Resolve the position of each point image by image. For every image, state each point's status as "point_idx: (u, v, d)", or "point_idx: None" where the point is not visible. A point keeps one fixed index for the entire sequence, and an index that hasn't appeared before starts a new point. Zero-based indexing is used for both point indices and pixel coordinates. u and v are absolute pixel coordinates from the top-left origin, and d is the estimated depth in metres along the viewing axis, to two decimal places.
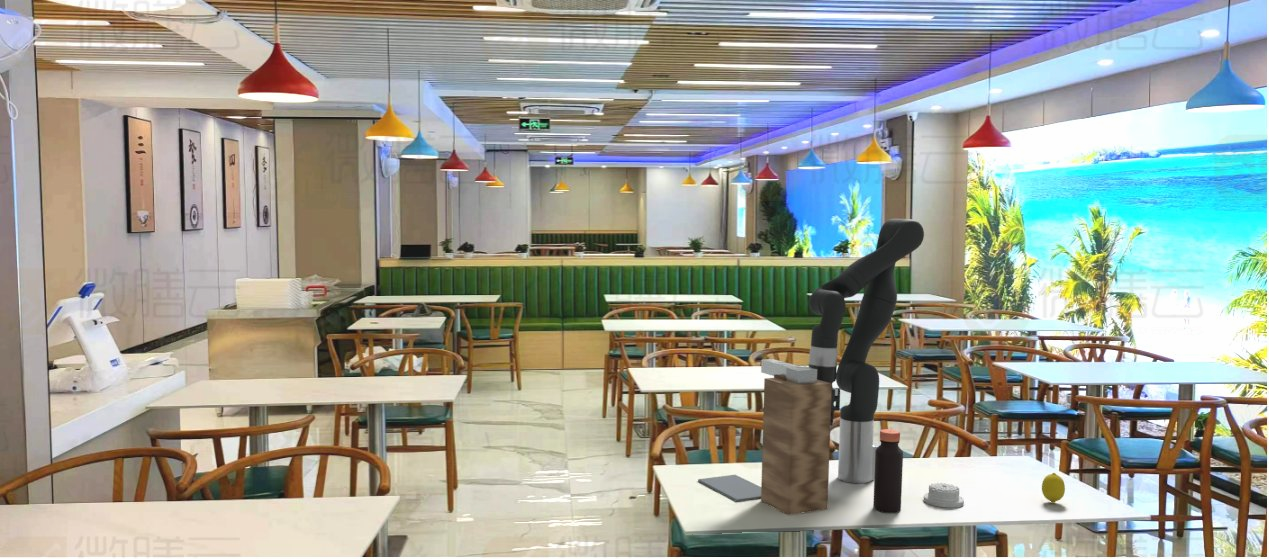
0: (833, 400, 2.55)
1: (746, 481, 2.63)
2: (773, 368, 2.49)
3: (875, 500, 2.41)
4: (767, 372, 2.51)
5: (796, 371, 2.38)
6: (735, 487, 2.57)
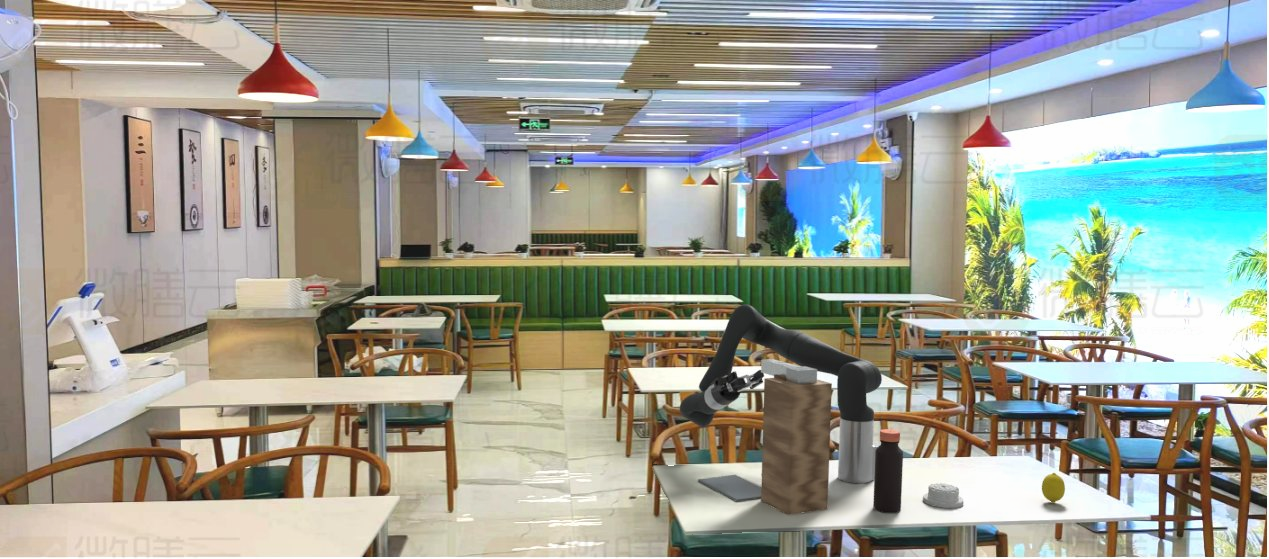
0: (715, 387, 2.67)
1: (746, 481, 2.63)
2: (773, 368, 2.49)
3: (875, 500, 2.41)
4: (767, 372, 2.51)
5: (796, 371, 2.38)
6: (735, 487, 2.57)
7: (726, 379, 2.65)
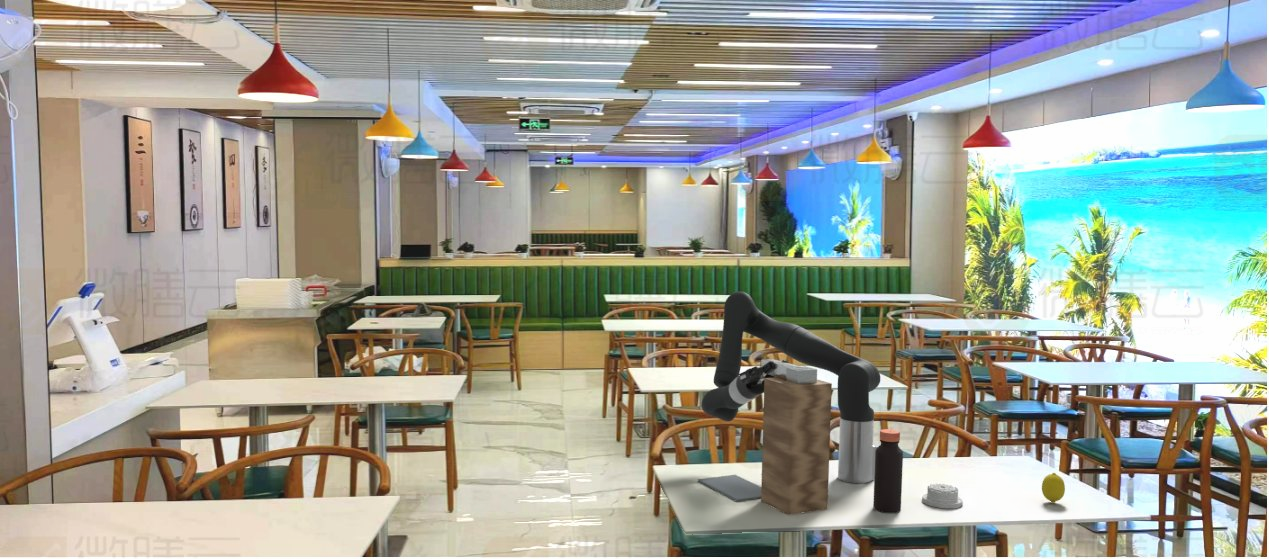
0: (749, 377, 2.52)
1: (746, 481, 2.63)
2: None
3: (875, 500, 2.41)
4: None
5: (796, 371, 2.38)
6: (735, 487, 2.57)
7: (762, 369, 2.50)
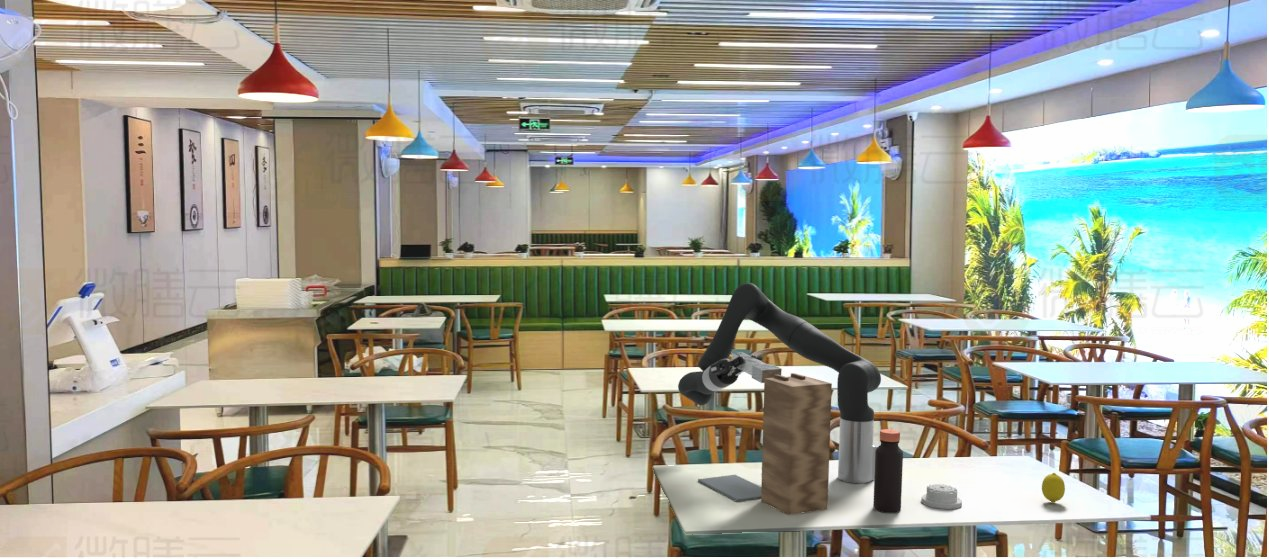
0: (719, 370, 2.62)
1: (746, 481, 2.63)
2: None
3: (875, 500, 2.41)
4: None
5: (761, 370, 2.48)
6: (735, 487, 2.57)
7: (732, 363, 2.61)
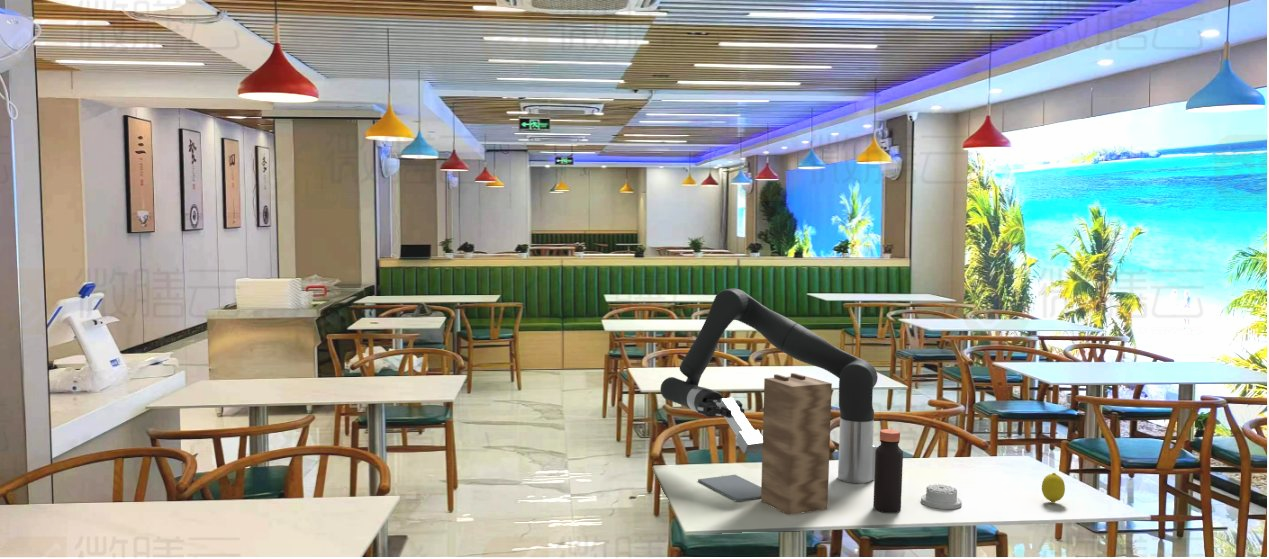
0: (705, 413, 2.63)
1: (746, 481, 2.63)
2: None
3: (875, 500, 2.41)
4: None
5: (746, 443, 2.49)
6: (735, 487, 2.57)
7: (720, 411, 2.61)
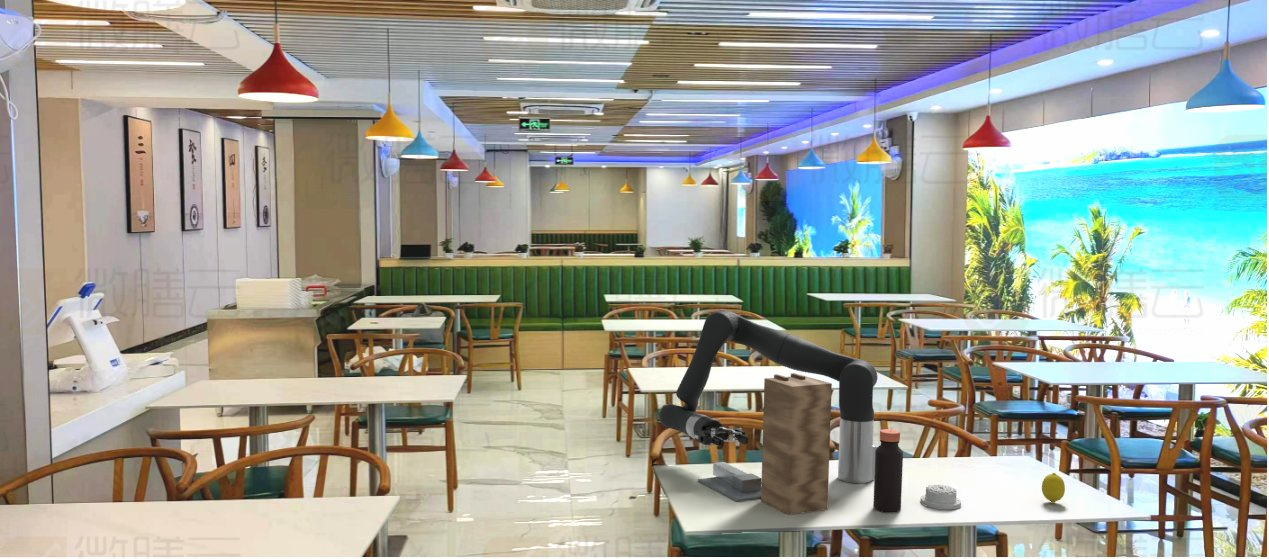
0: (699, 441, 2.64)
1: None
2: (722, 473, 2.64)
3: (875, 500, 2.41)
4: (718, 475, 2.66)
5: (741, 480, 2.52)
6: None
7: (712, 440, 2.61)
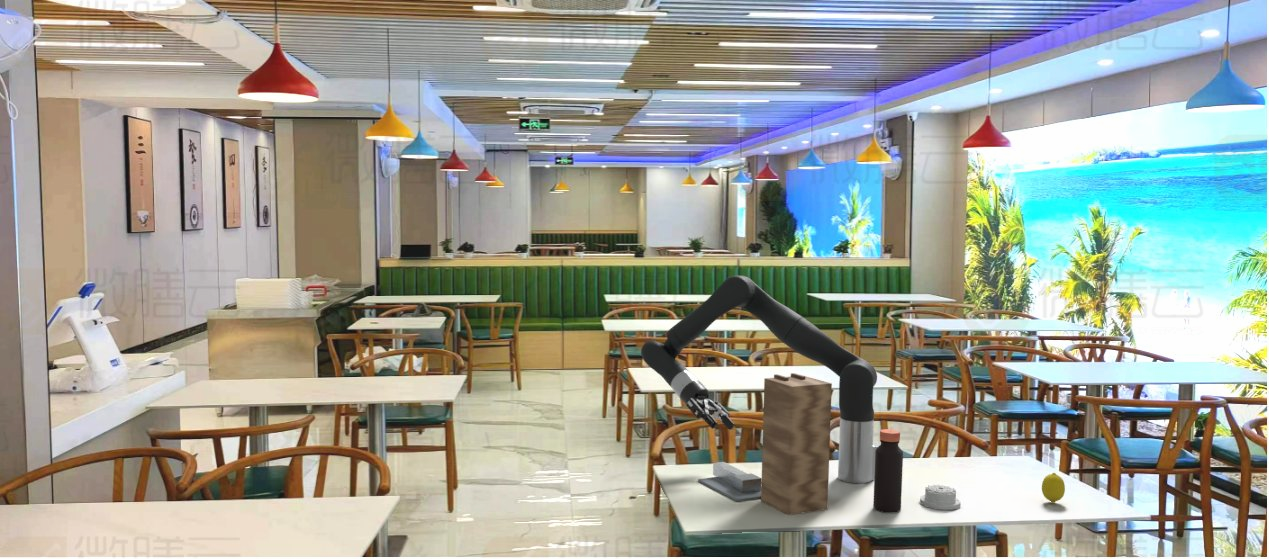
0: (692, 410, 2.68)
1: None
2: (722, 473, 2.64)
3: (875, 500, 2.41)
4: (718, 475, 2.66)
5: (741, 480, 2.52)
6: None
7: (705, 417, 2.67)
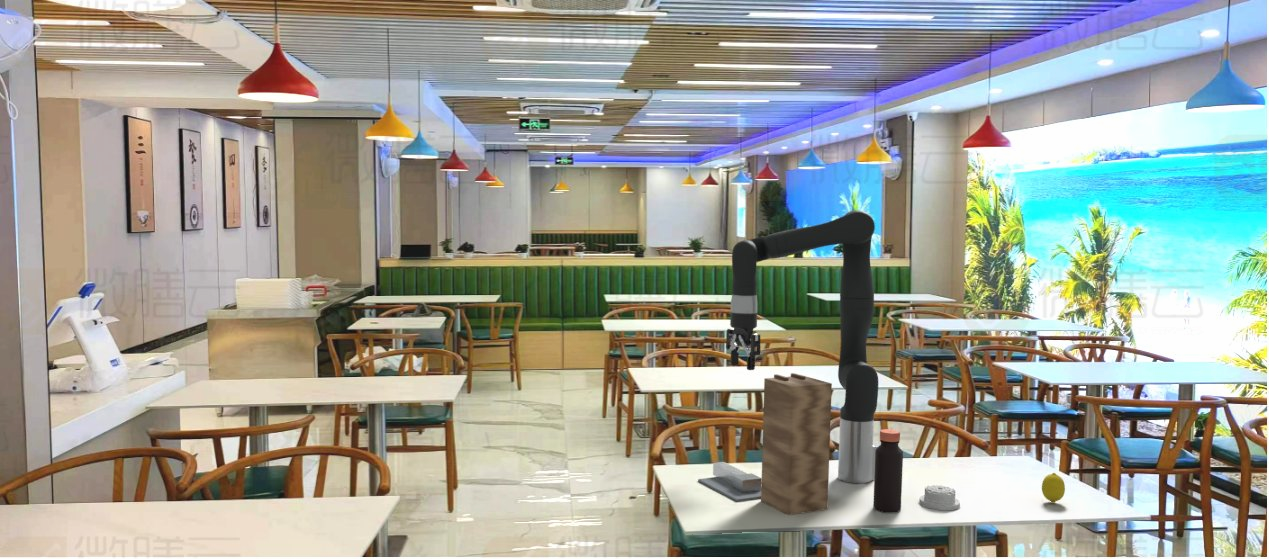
0: (754, 345, 2.65)
1: None
2: (722, 473, 2.64)
3: (875, 500, 2.41)
4: (718, 475, 2.66)
5: (741, 480, 2.52)
6: None
7: (753, 357, 2.68)
